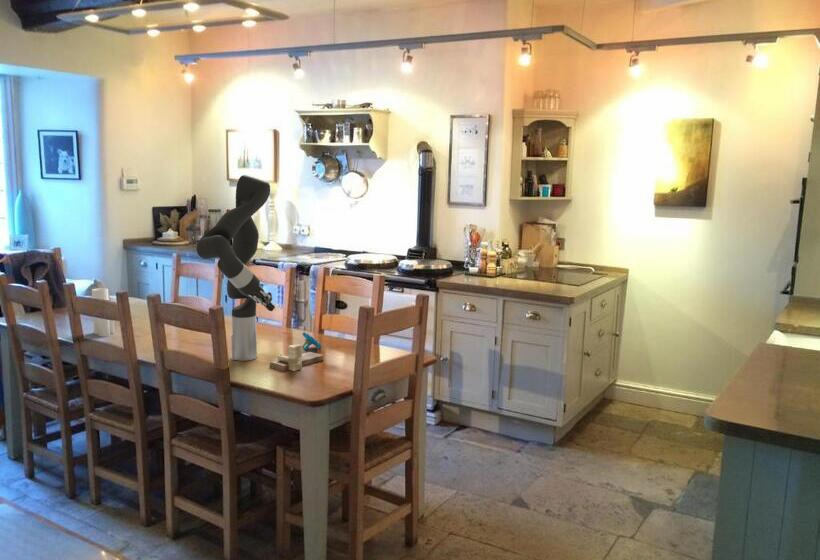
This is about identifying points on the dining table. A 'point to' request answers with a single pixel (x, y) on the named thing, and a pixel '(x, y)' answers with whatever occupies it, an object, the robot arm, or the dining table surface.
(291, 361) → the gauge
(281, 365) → the board
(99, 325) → the vase
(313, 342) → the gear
